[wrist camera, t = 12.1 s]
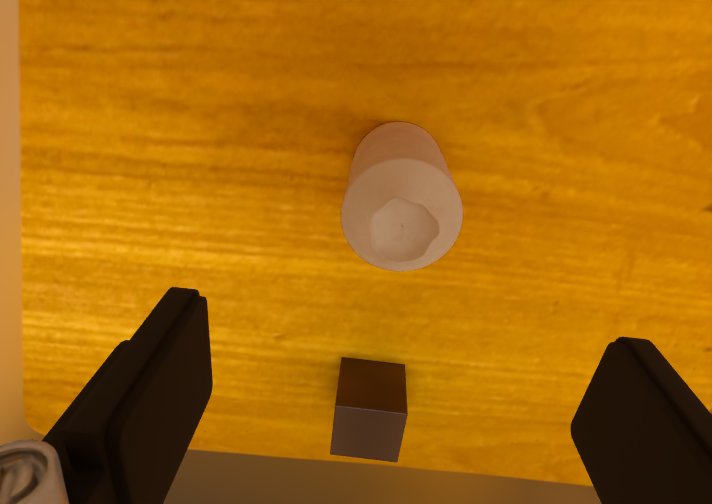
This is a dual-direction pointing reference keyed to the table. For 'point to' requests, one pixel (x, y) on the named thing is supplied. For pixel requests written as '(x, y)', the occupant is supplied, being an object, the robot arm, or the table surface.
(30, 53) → the table surface
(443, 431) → the table surface
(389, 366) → the block
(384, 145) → the candle
